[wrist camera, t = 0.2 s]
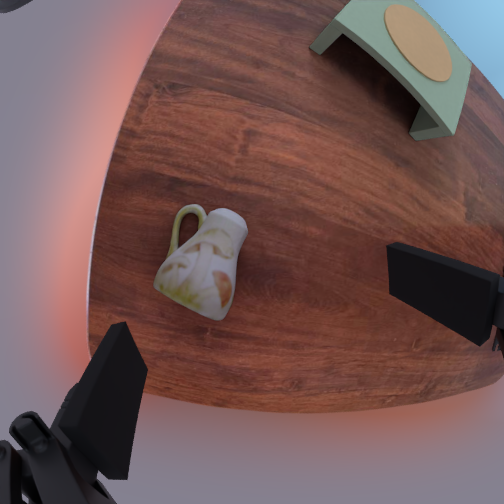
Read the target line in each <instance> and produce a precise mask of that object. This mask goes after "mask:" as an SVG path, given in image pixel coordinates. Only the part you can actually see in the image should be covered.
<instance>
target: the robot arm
mask: <svg viewBox="0 0 504 504" xmlns="http://www.w3.org/2000/svg"><path fill="white" fill-rule="evenodd" d="M386 247H387V259H388V273H389V294H391V295H392V296H394V297H396V298H398V299H399V300H401V301H403V302H405V303H407V304H408V305H410V306H412V307H414V308H415V309H417V310H419V311H421V312H422V313H424V314H426V315H428V316H429V317H431V318H433V319H434V320H436V321H438V322H440V323H441V324H443V325H445V326H446V327H448V328H450V329H451V330H453V331H455V332H456V333H458V334H460V335H461V336H463V337H465V338H466V339H468V340H470V341H471V342H473V343H475V344H476V345H478V346H481V345H482V344H483V343H485V342H486V341H487V340H488V339H489V338H490V334H491V329H492V325H495V326H496V327H497V331H496V335H495V339H494V343H493V347H492V351H495V347H496V345H497V344H499V346H498V350H501V351H502V354H503V358H504V278H503V277H500V275H499V274H497V273H494V272H491V271H488V270H485V269H482V268H479V267H476V266H473V265H470V264H467V263H464V262H461V261H458V260H455V259H452V258H449V257H446V256H442V255H439V254H436V253H433V252H430V251H426V250H423V249H420V248H416V247H413V246H409V245H406V244H403V243H399V242H395V243H393V244H390V245H387V246H386ZM498 350H497V351H498ZM147 371H148V368H147V366H146V365H145V363H144V361H143V359H142V356H141V354H140V352H139V350H138V348H137V346H136V344H135V342H134V340H133V337H132V335H131V333H130V331H129V328H128V326H127V324H126V322H121V323H117V324H112V325H111V326H110V328H109V330H108V331H107V333H106V335H105V336H104V338H103V340H102V341H101V343H100V345H99V347H98V348H97V350H96V352H95V354H94V355H93V357H92V359H91V361H90V363H89V365H88V366H87V368H86V370H85V372H84V374H83V375H82V377H81V379H80V381H79V383H76V384H75V385H74V386H73V387H72V388H71V389H70V391H69V392H68V394H67V396H66V397H65V399H64V400H65V402H63V403H62V405H61V409H59V411H58V413H57V415H56V417H55V419H54V421H53V423H52V425H51V428H50V429H49V428H48V427H47V426H46V424H45V423H44V422H43V420H42V419H41V418H40V417H39V415H38V414H37V413H35V412H33V411H30V412H25V413H23V414H21V415H19V416H18V417H17V418H16V419H15V420H14V421H13V422H12V424H11V426H10V428H9V433H10V435H11V436H12V437H13V438H14V439H15V440H16V441H17V443H18V444H19V445H20V446H21V447H22V448H23V449H22V450H15V449H14V447H13V446H12V445H11V444H10V443H9V442H8V441H6V440H2V441H0V504H27V503H26V502H25V501H23V500H22V494H24V495H25V496H26V497H27V498H28V499H29V504H117V503H116V502H115V501H114V499H113V498H112V497H111V495H110V494H109V492H108V491H107V490H106V488H105V487H104V485H103V484H102V483H101V482H100V481H99V480H98V479H97V473H98V470H99V471H100V472H101V473H102V474H103V475H104V476H105V477H106V478H108V479H113V480H127V479H128V472H129V465H130V458H131V452H132V446H133V439H134V433H135V428H136V423H137V418H138V412H139V408H140V403H141V398H142V394H143V389H144V385H145V380H146V376H147Z"/></svg>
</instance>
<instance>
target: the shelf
mask: <svg viewBox="0 0 504 504" xmlns="http://www.w3.org/2000/svg"><path fill="white" fill-rule="evenodd" d="M342 33H343V34H345V35H346V36H347V37H349V38H350V39H351V40H352V41H354V42H355V43H356V44H358V45H359V46H360V47H361V48H362V49H364V50H365V51H366V52H367V53H368V54H370V55H371V56H372V57H373V58H374V59H375V60H377V61H378V62H379V63H380V64H381V65H382V66H383V67H384V68H385V69H387V70H388V71H389V72H390V73H391V74H392V75H393V76H394V77H395V78H396V79H397V80H398V81H399V82H400V83H401V84H402V85H403V86H404V87H405V88H406V89H407V90H408V91H409V92H410V93H411V94H412V95H413V97H414V98H415V99H416V100H417V101H418V102H419V103H420V104H421V106H420V108H419V111H418V113H417V115H416V118H415V120H414V122H413V124H412V127H411V129H410V131H409V134H410V135H411V136H412V137H413V138H414V140H415V141H419V140H425V139H431V138H438V137H445V136H453V135H454V133H455V130H456V127H457V123H458V120H459V117H460V113H461V109H462V106H463V102H464V98H465V94H466V89H467V85H468V80H469V76H470V71H471V65H472V64H471V63H470V61H469V60H468V59H467V57H466V56H465V55H464V53H463V52H462V51H461V50H460V49H459V47H458V46H457V45H456V44H455V42H454V41H453V40H452V39H451V38H450V36H449V35H448V34H447V33H446V32H445V31H444V30H443V29H442V28H441V26H440V25H439V24H438V23H437V22H436V21H435V20H434V19H433V18H432V17H431V16H430V15H429V14H428V13H427V12H426V11H425V10H424V9H423V8H422V7H420V5H419V4H417V3H416V2H415V1H414V0H351V1H350V2H349V3H348V4H347V5H346V6H345V7H344V8H343V9H342V10H341V11H340V12H339V13H338V15H337V16H336V17H335V18H334V19H333V20H332V21H331V22H330V23H329V25H328V26H327V27H326V28H325V29H324V30H323V31H322V33H321V34H320V35H319V36H318V37H317V38H316V39H315V41H314V42H313V43H312V44H311V45H310V47H309V48H311V49H312V50H313V51H315V52H316V53H318V54H319V55H321V54H322V53H323V52H324V51H325V50H326V49H327V48H328V47H329V46H330V45H331V44H332V43H333V42H334V41H335V40H336V39H337V38H338V37H339V36H340V35H341V34H342Z"/></svg>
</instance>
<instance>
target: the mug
mask: <svg viewBox="0 0 504 504" xmlns="http://www.w3.org/2000/svg"><path fill="white" fill-rule="evenodd" d="M188 213H194V214H196V215H197V216H198V218H199V224H198V231H197V233H196V234H195V235H194V236H193V237H192V238H190V239H189V240H188V241H187V242H186V243H185V244H183V245H182V246H181V247H180V248H179V249H178V242H179V229H180V224H181V221H182V219H183V217H184V216H185V215H186V214H188ZM247 234H248V229H247V225H246V222H245V221H244V219H243V218H242V217H241V216H239V215H238V214H237V213H235V212H233V211H231V210H229V209H225V208H219V209H216V210H214V211H211V212H210V213H209V214H208V216H207V215H206V213H205V210H204V209H203V208H202V207H201V206H200V205H197V204H191V205H187V206H185V207H183V208H182V209H181V210H180V211H179V212H178V213H177V215H176V217H175V220H174V223H173V229H172V237H171V243H170V248H169V252H168V254H167V257H166V260H165V261H164V263H163V264H162V265H161V267H160V268H159V270H158V272H157V274H156V277H155V280H154V284H153V287H154V288H155V289H157V290H158V291H159V292H161V293H162V294H164V295H166V296H167V297H169V298H170V299H172V300H174V301H176V302H177V303H179V304H181V305H183V306H185V307H187V308H189V309H191V310H193V311H195V312H197V313H199V314H201V315H203V316H205V317H208V318H210V319H213V320H222V319H224V317H225V316H226V314H227V312H228V310H229V309H230V307H231V305H232V301H233V297H234V291H235V281H236V267H237V258H238V254H239V251H240V248H241V246H242V243H243V241H244V240H245V238H246V236H247Z"/></svg>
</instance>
